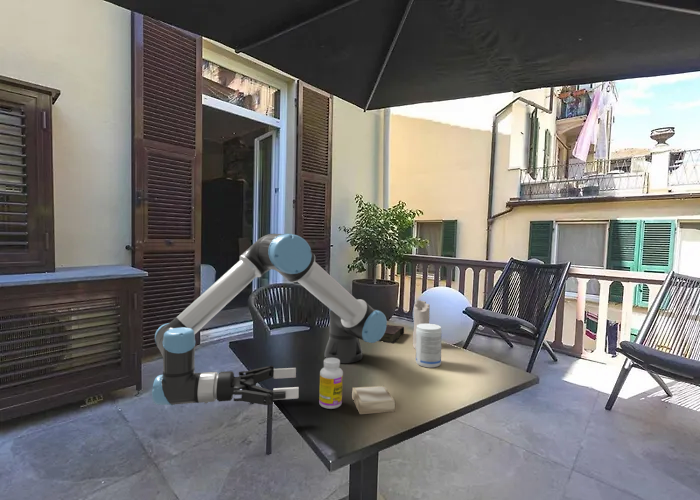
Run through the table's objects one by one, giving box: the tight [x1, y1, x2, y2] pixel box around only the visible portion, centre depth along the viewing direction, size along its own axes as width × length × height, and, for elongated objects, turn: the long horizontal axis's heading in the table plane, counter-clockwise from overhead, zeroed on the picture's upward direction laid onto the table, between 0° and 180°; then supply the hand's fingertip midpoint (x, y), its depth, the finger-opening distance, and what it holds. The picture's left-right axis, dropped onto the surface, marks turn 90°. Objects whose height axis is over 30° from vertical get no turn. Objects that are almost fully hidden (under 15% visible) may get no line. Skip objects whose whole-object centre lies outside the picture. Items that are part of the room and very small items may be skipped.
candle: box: [412, 299, 430, 350], centre depth 155 cm, size 7×14×20 cm, turn 173°
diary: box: [378, 324, 405, 344], centre depth 172 cm, size 19×25×5 cm
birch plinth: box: [351, 385, 396, 415], centre depth 101 cm, size 10×10×3 cm
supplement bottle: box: [318, 358, 344, 410], centre depth 101 cm, size 7×7×13 cm
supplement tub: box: [415, 323, 443, 369], centre depth 135 cm, size 10×10×15 cm
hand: (297, 381), depth 99 cm, fingers open, 13 cm apart
